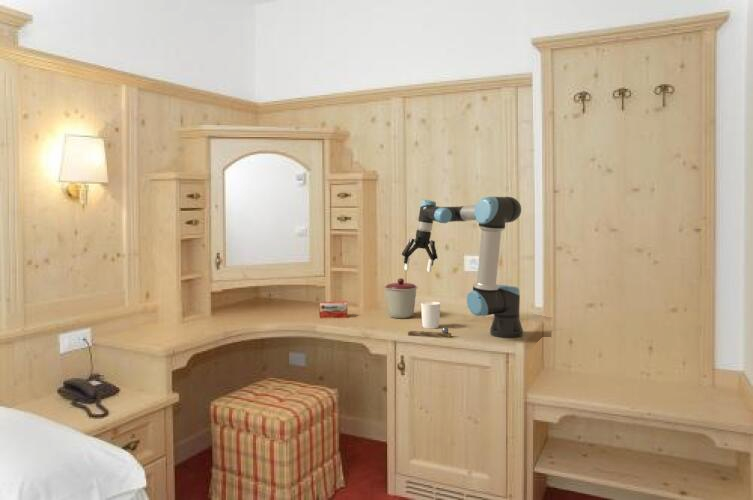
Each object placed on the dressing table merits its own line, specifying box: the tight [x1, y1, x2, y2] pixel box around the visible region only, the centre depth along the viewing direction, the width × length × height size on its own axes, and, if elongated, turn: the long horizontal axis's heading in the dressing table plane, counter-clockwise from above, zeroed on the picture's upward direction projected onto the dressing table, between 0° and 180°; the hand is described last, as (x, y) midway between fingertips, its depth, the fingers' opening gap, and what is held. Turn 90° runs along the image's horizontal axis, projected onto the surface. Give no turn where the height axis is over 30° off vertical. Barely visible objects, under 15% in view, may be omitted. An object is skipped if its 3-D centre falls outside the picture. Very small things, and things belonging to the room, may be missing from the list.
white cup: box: [420, 301, 441, 330], centre depth 313 cm, size 10×10×12 cm
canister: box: [383, 278, 418, 319], centre depth 340 cm, size 18×18×21 cm
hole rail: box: [407, 330, 452, 339], centre depth 293 cm, size 20×4×2 cm, turn 74°
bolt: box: [441, 326, 449, 334], centre depth 290 cm, size 3×3×2 cm
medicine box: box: [318, 300, 349, 319], centre depth 343 cm, size 15×8×8 cm, turn 92°
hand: (417, 270), depth 323 cm, fingers open, 13 cm apart
